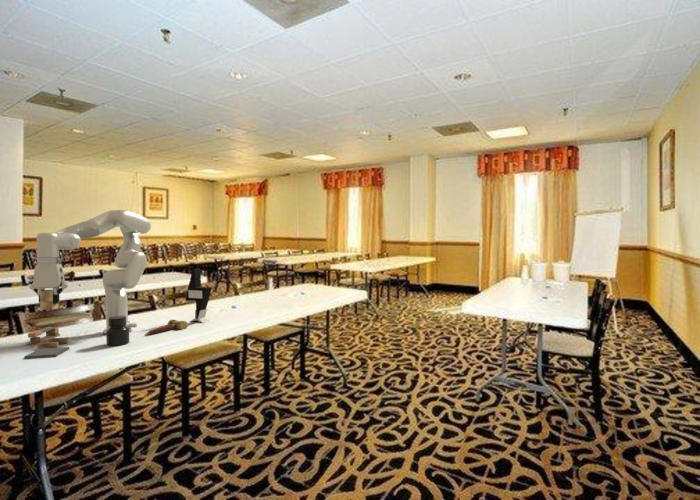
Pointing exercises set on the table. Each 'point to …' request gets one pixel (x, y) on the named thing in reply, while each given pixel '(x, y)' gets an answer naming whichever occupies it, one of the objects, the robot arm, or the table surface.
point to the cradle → (53, 343)
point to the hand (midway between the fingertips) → (49, 303)
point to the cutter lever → (39, 332)
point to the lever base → (49, 334)
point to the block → (47, 300)
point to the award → (198, 296)
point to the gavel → (169, 327)
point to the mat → (46, 352)
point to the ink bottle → (117, 331)
